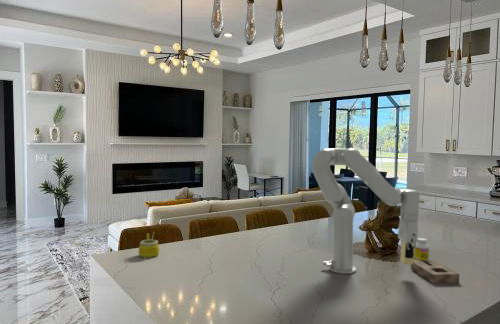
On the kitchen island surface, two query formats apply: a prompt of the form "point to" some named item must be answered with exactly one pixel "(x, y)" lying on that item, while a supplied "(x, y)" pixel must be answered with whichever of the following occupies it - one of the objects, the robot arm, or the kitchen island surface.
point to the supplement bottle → (421, 250)
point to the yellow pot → (149, 248)
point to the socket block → (435, 272)
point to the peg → (403, 254)
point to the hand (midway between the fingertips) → (406, 256)
